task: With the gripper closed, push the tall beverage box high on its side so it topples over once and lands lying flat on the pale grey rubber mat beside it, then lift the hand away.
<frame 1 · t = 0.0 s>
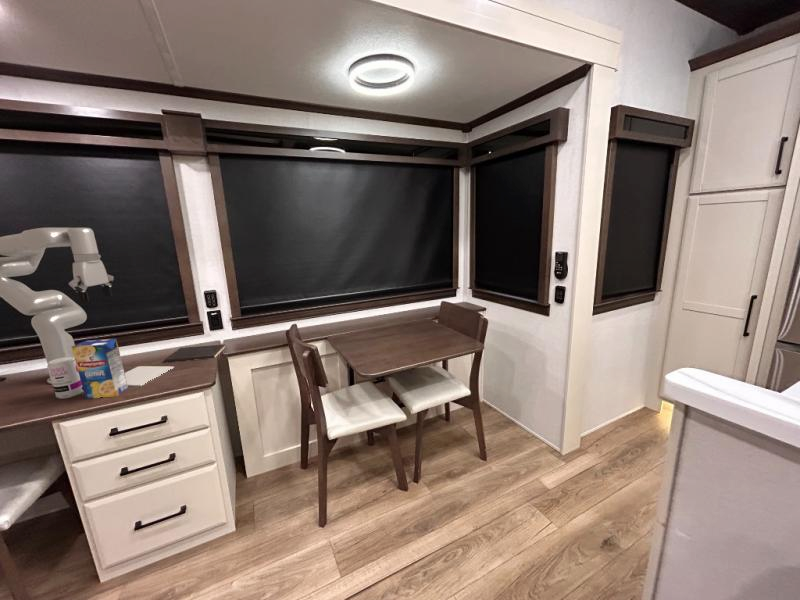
hand: (97, 298, 132), 37 cm above the table, tool pointing down, fingers open, 9 cm apart
beverage box: (107, 393, 127), on the table
hardcover book: (197, 355, 165), on the table
supplement can: (71, 394, 127), on the table
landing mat: (139, 376, 142), on the table
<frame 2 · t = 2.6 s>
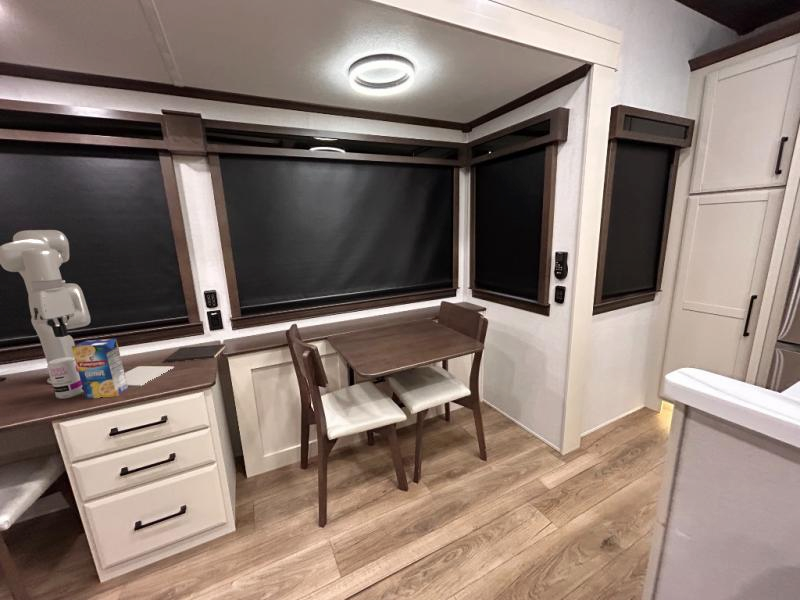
hand: (61, 336, 111), 28 cm above the table, tool pointing down, fingers closed
nothing on the table moved.
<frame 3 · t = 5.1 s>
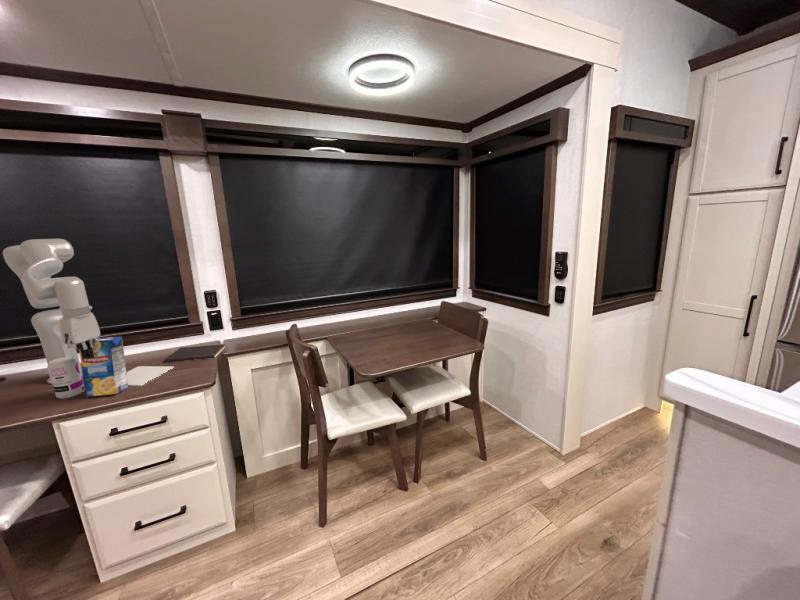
hand: (88, 357, 120), 17 cm above the table, tool pointing down, fingers closed
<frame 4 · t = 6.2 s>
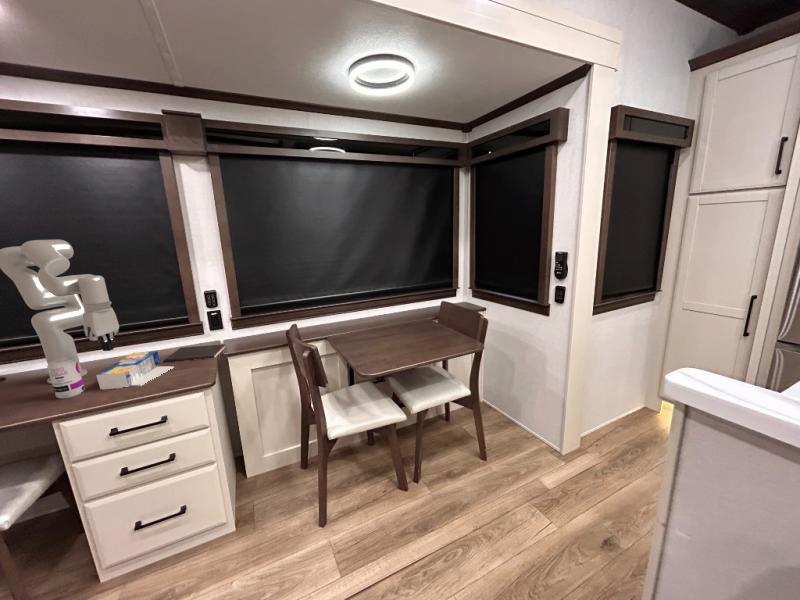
hand: (108, 350, 128), 17 cm above the table, tool pointing down, fingers closed
beverage box: (112, 381, 130), point 3 cm above the table, touching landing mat
everything else where it was.
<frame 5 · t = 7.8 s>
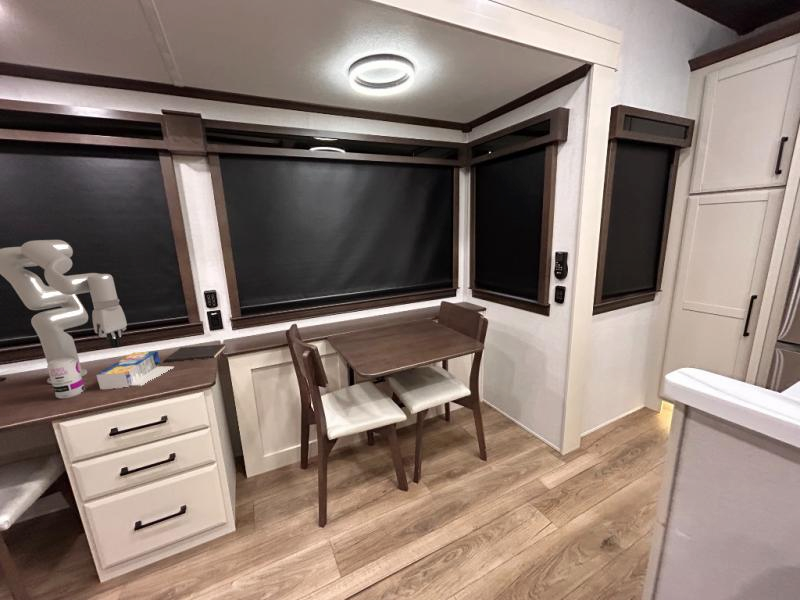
hand: (116, 346, 131), 17 cm above the table, tool pointing down, fingers closed
nothing on the table moved.
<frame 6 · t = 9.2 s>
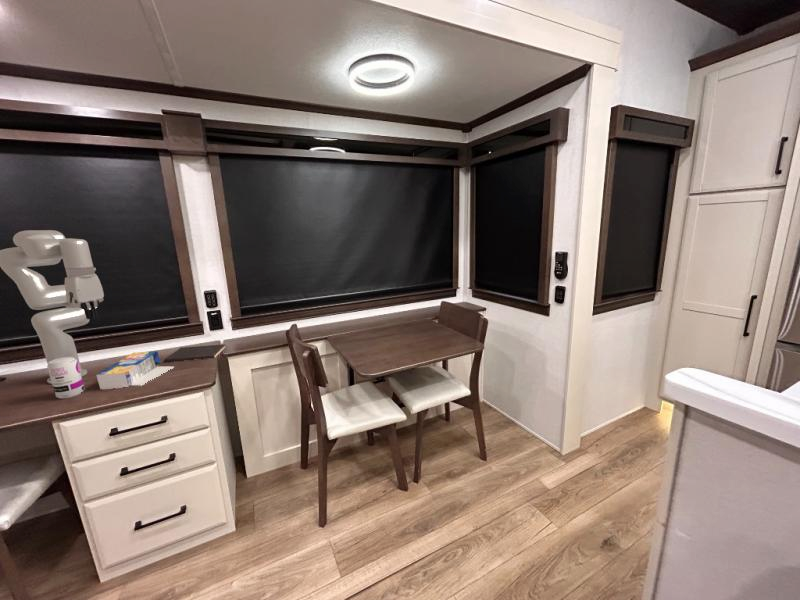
hand: (92, 318, 122), 31 cm above the table, tool pointing down, fingers closed
nothing on the table moved.
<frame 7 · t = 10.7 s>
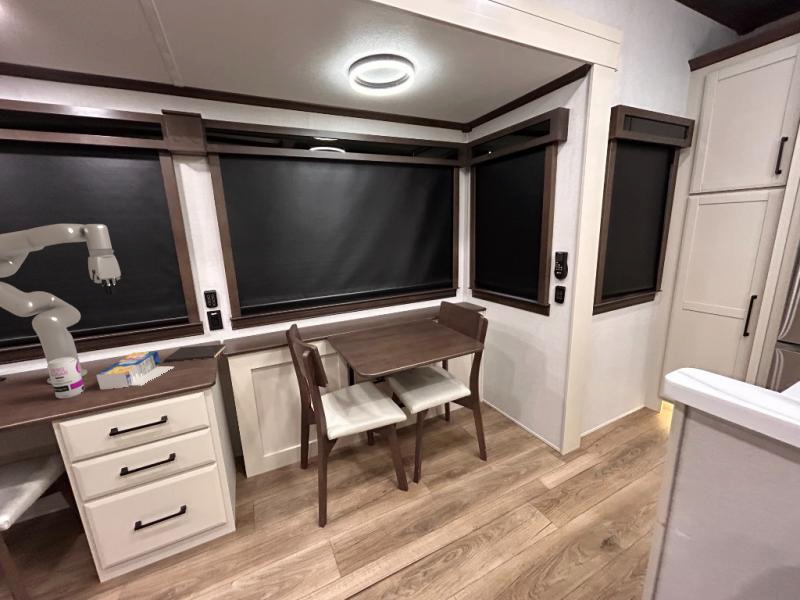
hand: (111, 294, 140), 37 cm above the table, tool pointing down, fingers closed
nothing on the table moved.
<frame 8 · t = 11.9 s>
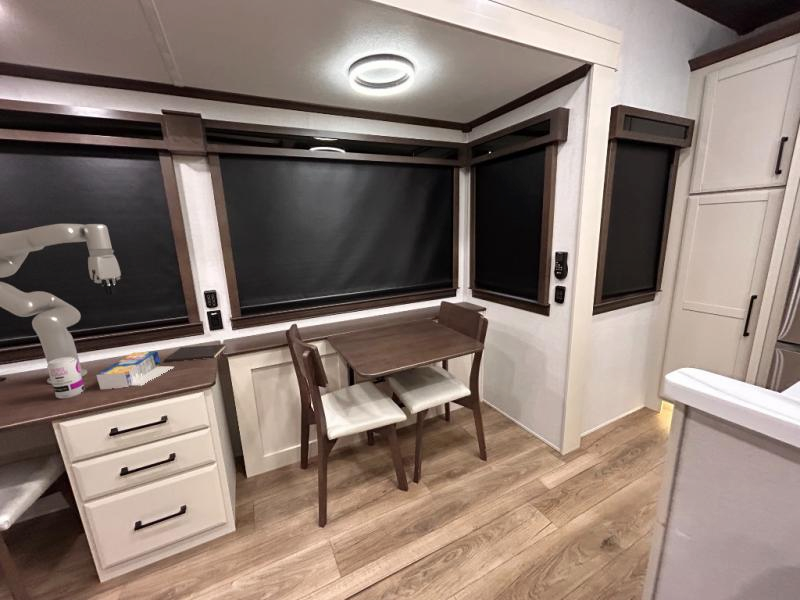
hand: (111, 294, 140), 37 cm above the table, tool pointing down, fingers closed
nothing on the table moved.
at the end: beverage box tilted 88°; beverage box touching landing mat, table; beverage box inside the target area (1.2 cm from its centre), point 3.4 cm above the table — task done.
